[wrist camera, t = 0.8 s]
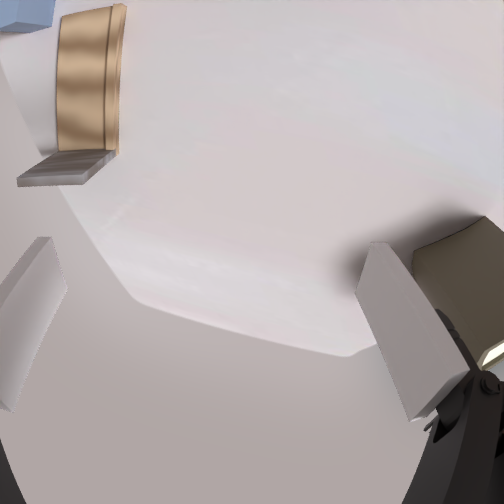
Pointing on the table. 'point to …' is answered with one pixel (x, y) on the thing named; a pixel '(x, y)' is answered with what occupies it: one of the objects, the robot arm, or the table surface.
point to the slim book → (26, 15)
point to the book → (468, 286)
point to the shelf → (85, 98)
